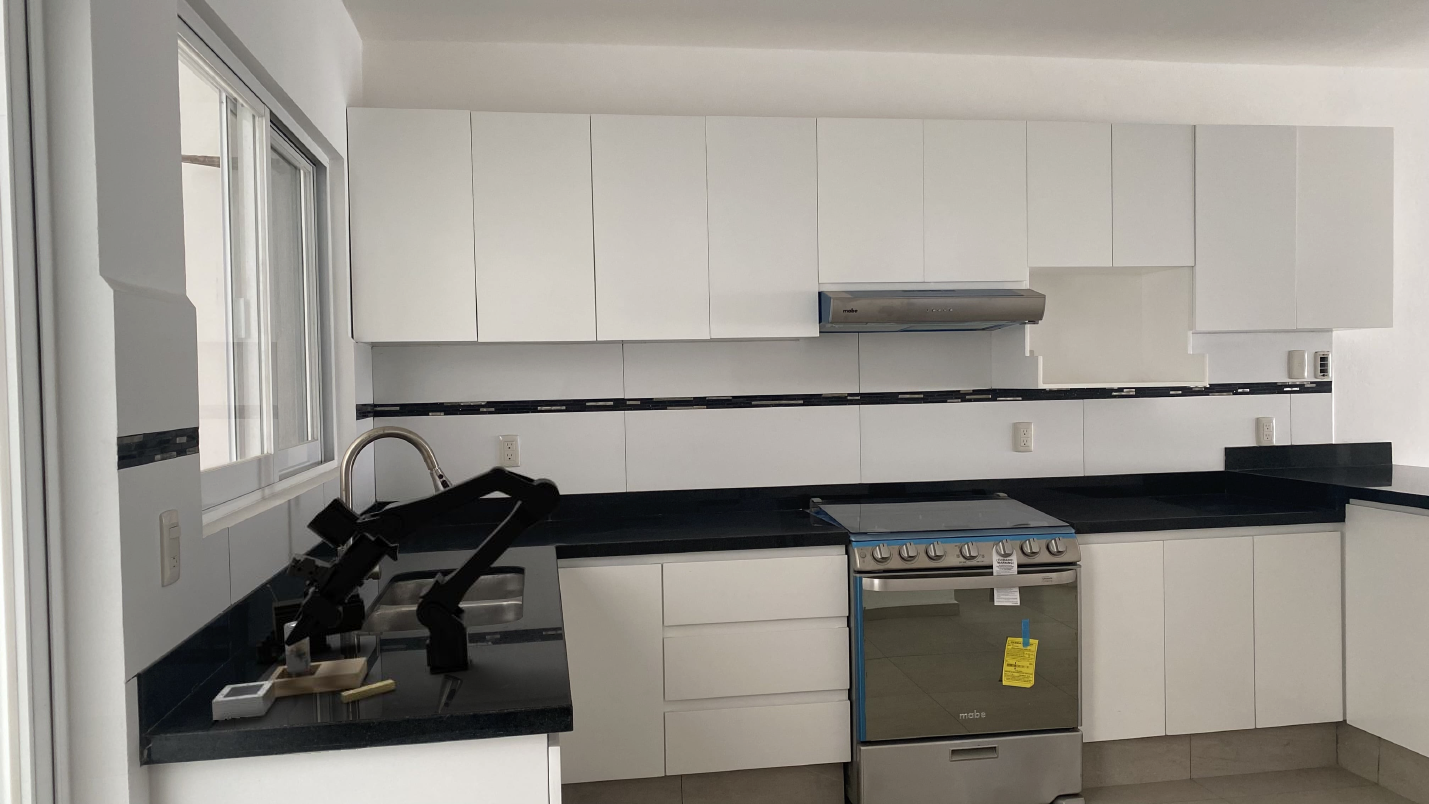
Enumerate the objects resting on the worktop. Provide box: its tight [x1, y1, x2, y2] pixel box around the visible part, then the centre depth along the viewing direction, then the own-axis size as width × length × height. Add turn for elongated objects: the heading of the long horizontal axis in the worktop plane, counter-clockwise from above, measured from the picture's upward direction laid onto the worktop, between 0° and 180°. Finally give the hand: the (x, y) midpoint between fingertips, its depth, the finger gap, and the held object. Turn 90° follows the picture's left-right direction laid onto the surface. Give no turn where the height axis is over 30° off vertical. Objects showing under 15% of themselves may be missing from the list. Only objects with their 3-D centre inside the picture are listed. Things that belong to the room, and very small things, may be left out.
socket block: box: [211, 680, 277, 722], centre depth 140 cm, size 7×7×3 cm
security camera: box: [256, 589, 366, 664], centre depth 168 cm, size 7×18×10 cm, turn 121°
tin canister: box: [284, 621, 312, 678], centre depth 149 cm, size 4×4×10 cm
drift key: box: [340, 679, 396, 704], centre depth 144 cm, size 8×2×1 cm, turn 132°
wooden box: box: [267, 657, 368, 698], centre depth 150 cm, size 14×8×2 cm, turn 102°
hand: (287, 639), depth 149 cm, fingers open, 6 cm apart
